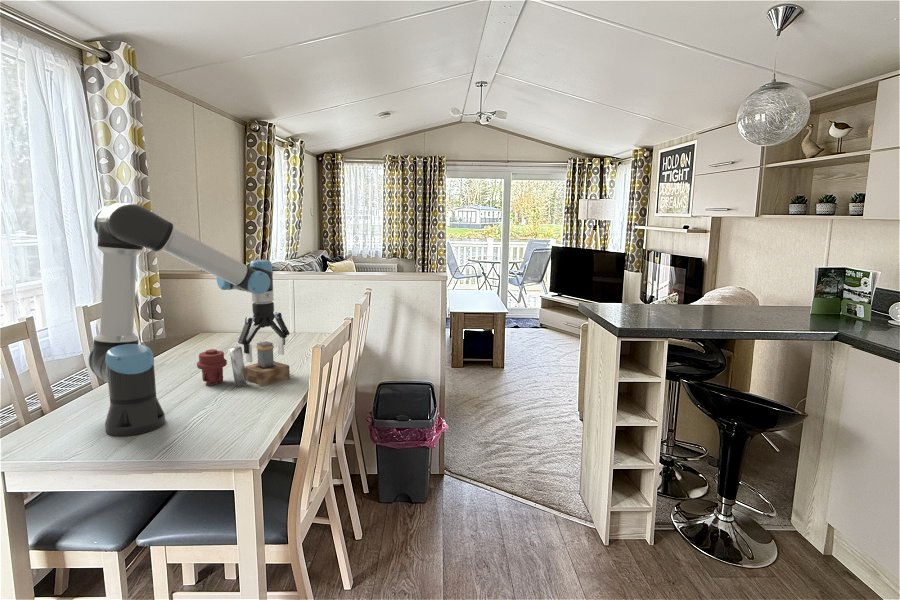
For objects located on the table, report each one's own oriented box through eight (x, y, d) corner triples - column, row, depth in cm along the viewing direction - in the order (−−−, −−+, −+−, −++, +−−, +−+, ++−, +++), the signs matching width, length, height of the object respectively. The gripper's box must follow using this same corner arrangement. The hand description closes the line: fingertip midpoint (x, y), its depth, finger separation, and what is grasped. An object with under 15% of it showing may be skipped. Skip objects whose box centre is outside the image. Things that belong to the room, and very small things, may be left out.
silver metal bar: (239, 387, 191) (233, 350, 188) (232, 385, 193) (227, 348, 190) (249, 383, 194) (243, 347, 191) (242, 381, 196) (237, 345, 193)
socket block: (262, 386, 193) (261, 372, 192) (243, 379, 200) (242, 366, 199) (289, 378, 202) (289, 365, 201) (270, 372, 209) (270, 360, 208)
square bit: (264, 381, 198) (263, 345, 196) (258, 379, 200) (256, 343, 198) (275, 378, 201) (273, 342, 199) (268, 376, 204) (266, 341, 202)
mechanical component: (233, 379, 199) (216, 388, 190) (209, 378, 201) (192, 386, 192) (231, 348, 197) (214, 354, 188) (207, 346, 199) (189, 353, 190)
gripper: (237, 307, 184) (241, 367, 188) (297, 299, 204) (299, 352, 207) (225, 305, 189) (229, 363, 192) (285, 297, 208) (287, 349, 212)
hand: (265, 357), depth 200 cm, fingers open, 13 cm apart
